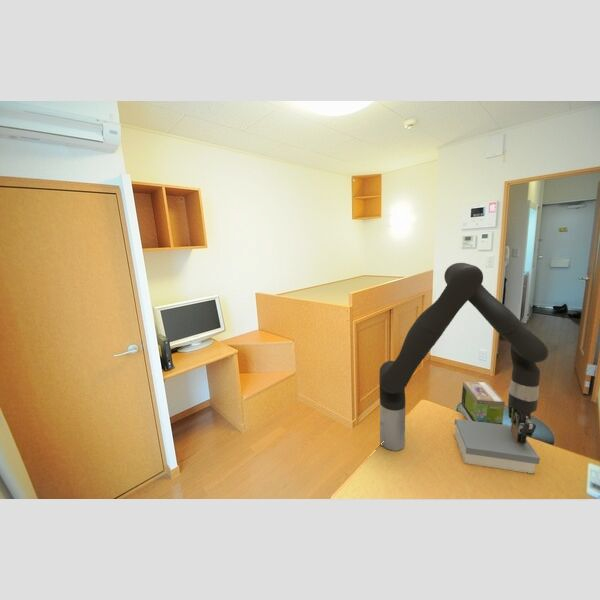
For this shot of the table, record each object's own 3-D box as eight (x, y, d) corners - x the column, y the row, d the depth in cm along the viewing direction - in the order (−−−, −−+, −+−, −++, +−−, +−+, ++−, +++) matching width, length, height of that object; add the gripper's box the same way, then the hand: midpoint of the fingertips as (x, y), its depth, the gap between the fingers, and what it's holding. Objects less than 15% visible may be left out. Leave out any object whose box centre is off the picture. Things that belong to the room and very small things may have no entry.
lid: (466, 453, 92) (467, 435, 90) (454, 424, 106) (455, 407, 104) (538, 464, 86) (541, 444, 84) (516, 431, 100) (518, 414, 98)
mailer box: (464, 463, 93) (466, 448, 92) (454, 435, 106) (455, 422, 105) (534, 473, 87) (536, 458, 86) (514, 443, 100) (515, 429, 99)
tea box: (502, 434, 105) (506, 401, 102) (474, 432, 107) (476, 400, 104) (484, 411, 119) (487, 381, 116) (460, 409, 121) (462, 380, 118)
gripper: (501, 381, 97) (497, 423, 101) (520, 404, 84) (514, 451, 87) (526, 383, 95) (521, 425, 98) (549, 407, 82) (542, 455, 85)
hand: (518, 437), depth 93 cm, fingers closed on lid, 4 cm apart
